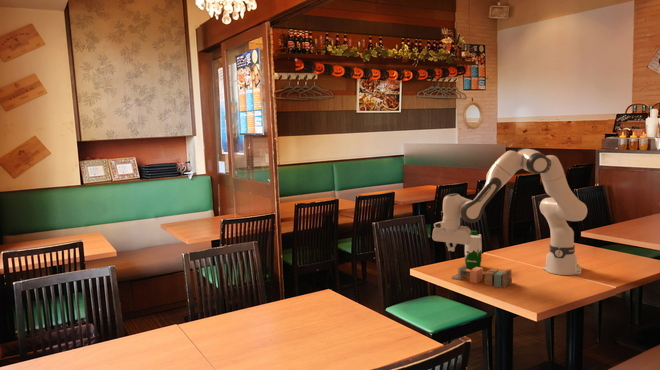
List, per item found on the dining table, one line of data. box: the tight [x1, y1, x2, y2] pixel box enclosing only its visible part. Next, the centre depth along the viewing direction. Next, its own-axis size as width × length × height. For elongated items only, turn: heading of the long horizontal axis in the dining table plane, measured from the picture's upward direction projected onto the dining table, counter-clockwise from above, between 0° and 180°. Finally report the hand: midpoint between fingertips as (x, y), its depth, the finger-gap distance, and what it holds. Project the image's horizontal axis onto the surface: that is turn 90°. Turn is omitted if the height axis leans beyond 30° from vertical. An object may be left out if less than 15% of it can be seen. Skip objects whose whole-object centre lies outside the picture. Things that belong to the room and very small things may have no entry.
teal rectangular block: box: [493, 270, 506, 288], centre depth 250 cm, size 8×4×6 cm, turn 142°
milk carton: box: [464, 229, 483, 270], centre depth 281 cm, size 9×9×20 cm
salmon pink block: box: [469, 266, 484, 284], centre depth 257 cm, size 8×4×6 cm, turn 141°
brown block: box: [484, 268, 499, 286], centre depth 253 cm, size 8×4×6 cm, turn 142°
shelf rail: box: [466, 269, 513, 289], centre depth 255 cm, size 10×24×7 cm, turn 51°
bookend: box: [451, 264, 467, 281], centre depth 263 cm, size 8×5×6 cm, turn 142°
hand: (451, 250), depth 265 cm, fingers closed
